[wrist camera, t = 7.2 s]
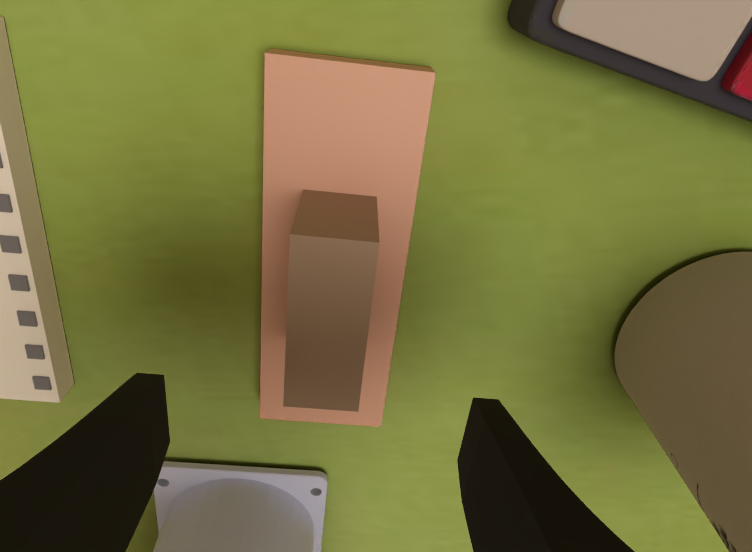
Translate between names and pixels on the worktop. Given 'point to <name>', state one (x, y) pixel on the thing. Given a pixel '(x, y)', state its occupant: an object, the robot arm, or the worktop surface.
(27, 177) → the cream notepad
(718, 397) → the travel mug
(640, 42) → the calculator
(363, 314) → the pink block with handle
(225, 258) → the worktop surface
